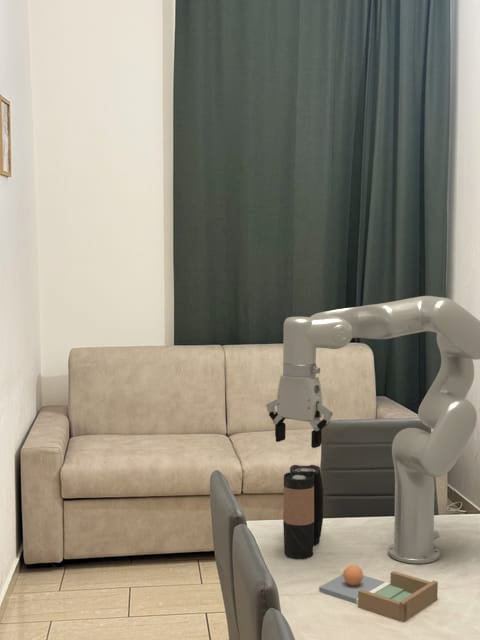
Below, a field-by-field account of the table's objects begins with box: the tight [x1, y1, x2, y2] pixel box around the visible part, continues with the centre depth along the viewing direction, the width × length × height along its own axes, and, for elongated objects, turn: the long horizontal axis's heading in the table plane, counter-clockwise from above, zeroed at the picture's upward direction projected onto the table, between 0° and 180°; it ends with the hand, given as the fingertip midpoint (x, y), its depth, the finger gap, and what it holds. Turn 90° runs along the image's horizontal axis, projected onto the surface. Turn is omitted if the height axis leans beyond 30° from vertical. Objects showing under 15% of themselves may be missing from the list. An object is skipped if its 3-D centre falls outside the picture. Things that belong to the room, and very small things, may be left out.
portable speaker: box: [289, 464, 324, 547], centre depth 219 cm, size 9×9×20 cm
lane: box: [318, 570, 439, 623], centre depth 186 cm, size 14×22×4 cm, turn 49°
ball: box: [342, 564, 364, 585], centre depth 190 cm, size 4×4×4 cm
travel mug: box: [282, 471, 314, 560], centre depth 211 cm, size 8×8×20 cm
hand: (298, 443), depth 197 cm, fingers open, 9 cm apart
